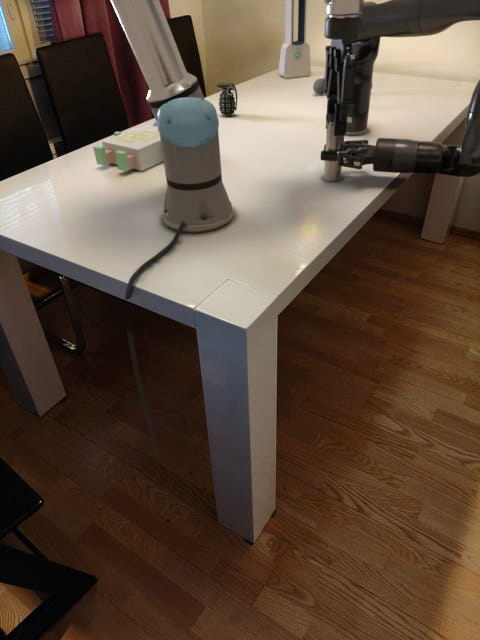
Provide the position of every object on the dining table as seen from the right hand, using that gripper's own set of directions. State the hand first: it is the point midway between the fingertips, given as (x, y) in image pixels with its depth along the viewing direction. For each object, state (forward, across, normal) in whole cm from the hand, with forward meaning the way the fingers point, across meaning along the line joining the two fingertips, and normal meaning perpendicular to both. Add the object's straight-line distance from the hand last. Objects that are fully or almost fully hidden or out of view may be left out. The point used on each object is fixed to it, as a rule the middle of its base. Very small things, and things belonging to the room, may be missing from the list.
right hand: (322, 151), depth 118 cm
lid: (-3, 0, -9) cm, 9 cm away
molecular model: (+4, -77, +6) cm, 77 cm away
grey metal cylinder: (-3, 0, +6) cm, 7 cm away
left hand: (-3, 0, -5) cm, 6 cm away
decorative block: (+52, -6, +6) cm, 53 cm away
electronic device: (+31, -112, +6) cm, 116 cm away
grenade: (+41, -49, +6) cm, 64 cm away
